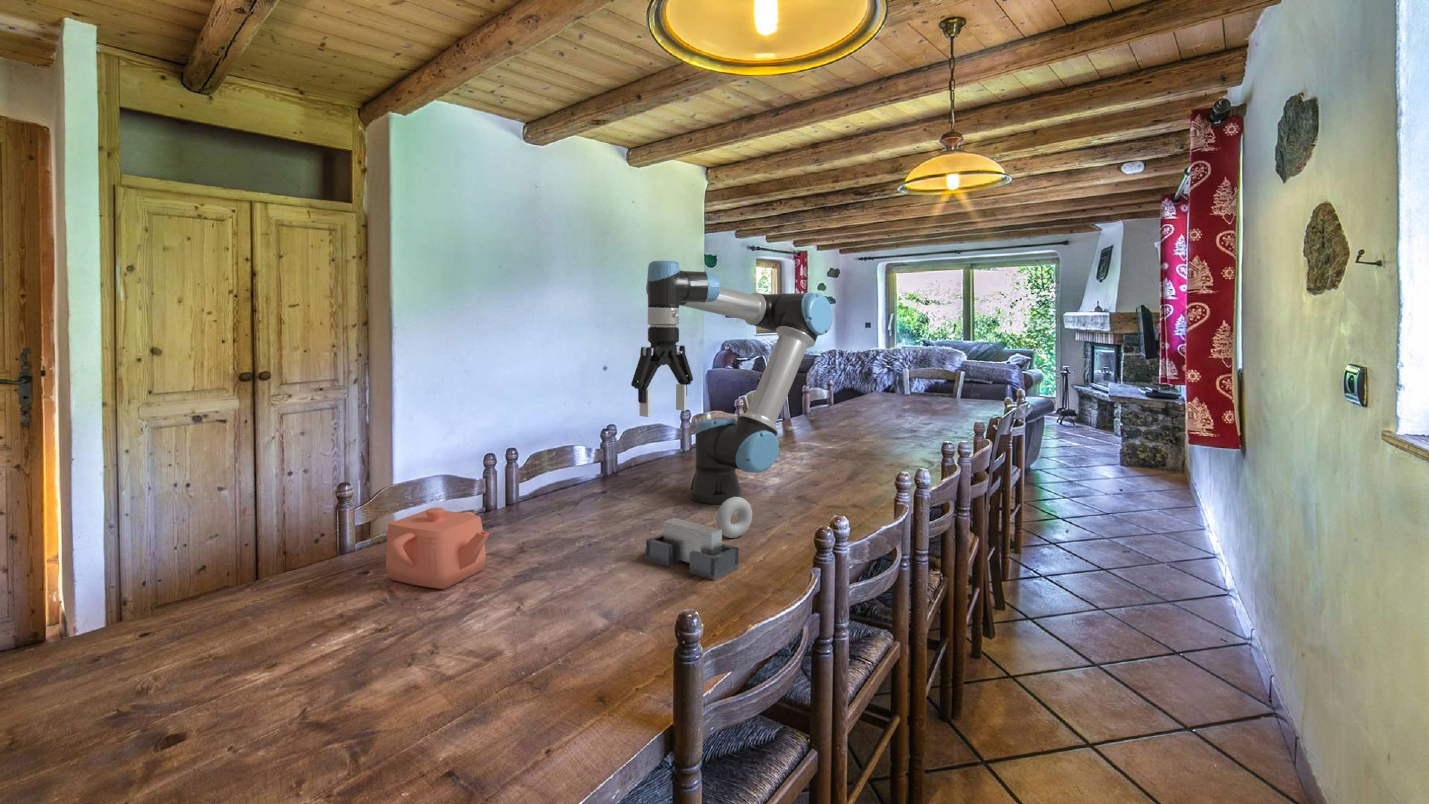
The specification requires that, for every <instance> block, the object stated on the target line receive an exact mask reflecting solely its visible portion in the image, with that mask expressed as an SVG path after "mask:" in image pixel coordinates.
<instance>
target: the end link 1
mask: <svg viewBox="0 0 1429 804" xmlns="http://www.w3.org/2000/svg"><path fill="white" fill-rule="evenodd" d="M645 542H646V543H645V544H646V547H645V550H646V554H645V555H646V557H645V559H646V561H648V562H651V563H655V564H658V565H661V566H664V567H668V568H670V567H673V566H674V565H676V564H679V563H681V562H683V561H682V560H678V559H675V558H673V545H671V544H668V543H664V533H661V534H659V535H656V536H654V537H651V538H647V539H646V541H645Z"/></svg>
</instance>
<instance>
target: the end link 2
mask: <svg viewBox="0 0 1429 804" xmlns="http://www.w3.org/2000/svg"><path fill="white" fill-rule="evenodd" d="M739 548H740V547H737V546H732V545H729V544H725V543H722V553H720V554H718V555H716V556H711V555H708V554H704V553H700V552H697V551H691V552H690V563H689V574H691V575H694V576H697V577H701V578H704V579H708V580H711V581H713V582H714V581H717V580H718V579H721V578H723V577H724V576H727V575H728V574H731V573H733V572H735V571H737V570H738V569H739V556H740V555H739V554H740V553H739V550H740V549H739Z"/></svg>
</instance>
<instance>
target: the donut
mask: <svg viewBox="0 0 1429 804" xmlns="http://www.w3.org/2000/svg"><path fill="white" fill-rule="evenodd" d="M734 512H738V517H737V520H736V521H735V522H734V523H731V522H732V521H731V518H732V515H733V513H734ZM752 520H753V510H752V507H751V504H750V502H748V501H747V500H746V499H745V498H743V497H742V496H741V497H732V498H729V499H727V500H726V501H725V502H723V503H722V504H720V506H719V508H718V510H717V512H716V517H715V522H716V527H717V529H721V530H722V536H724V537H725V538H729V539H736V538H738V537H741V536H742V535H744V534H745V533H746V532H747V531H748V529H749V528H750V526H751V524H752Z"/></svg>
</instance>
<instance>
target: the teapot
mask: <svg viewBox="0 0 1429 804" xmlns="http://www.w3.org/2000/svg"><path fill="white" fill-rule="evenodd" d="M489 535H490V533H489V532H486V531H484V530H483V524H482V518H481V517H480V516H479V515H477V514H476V515H475V513H474V512H473V511H463V512H458V511H450V510H445V508H442V507H431V508H428V509H425V510H423V511H420V512H417V513H415V514H412V515H409V516H406V517H403V518H400V519H398V520H395V521H392V522H389V523H388V525H387V535H386V536H387V537H386V545H385V546H386V550H385V552H386V553H385V565H386V566H385V567H386V573H387V576H388V579H390V580H392V581H395V582H400V583H403V584H408V585H413V586H419V587H424V588H429V589H437V590H438V589H440V590H446V589H447V588H450V587H452V586H454V585H456V584H458V583H460V582H462V581H464V580H466V579H468V578H471V577H472V576H474V575H475V574H477V573H480V572H481V571H483V570H485V566H486V559H487V556H486V554H487V553H486V541H487V540H488V538H489Z"/></svg>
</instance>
